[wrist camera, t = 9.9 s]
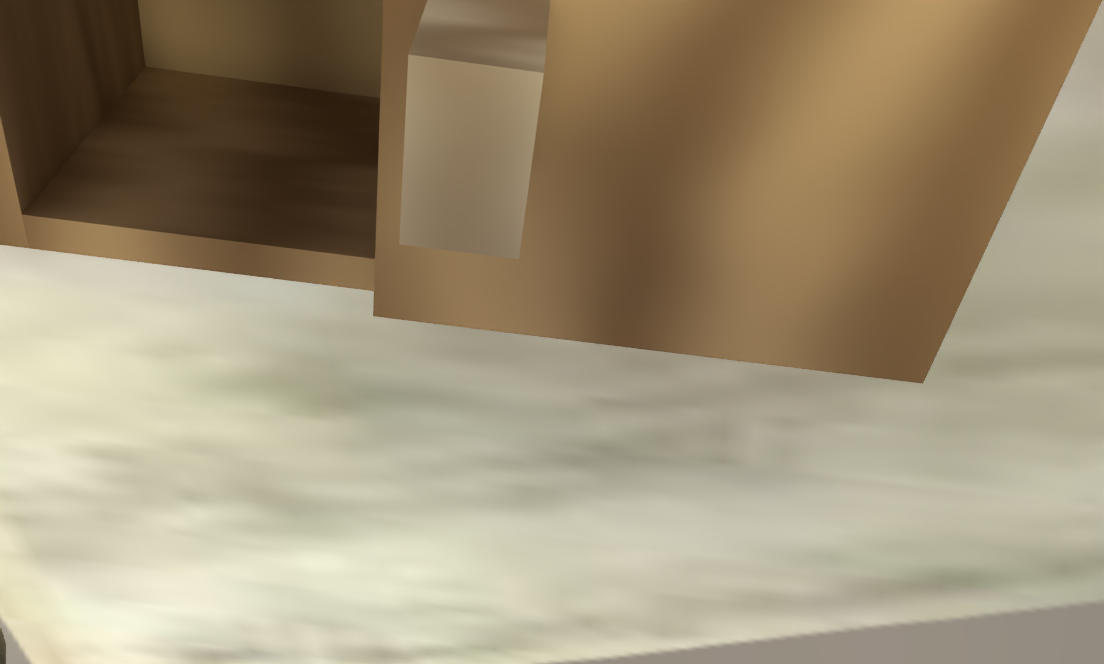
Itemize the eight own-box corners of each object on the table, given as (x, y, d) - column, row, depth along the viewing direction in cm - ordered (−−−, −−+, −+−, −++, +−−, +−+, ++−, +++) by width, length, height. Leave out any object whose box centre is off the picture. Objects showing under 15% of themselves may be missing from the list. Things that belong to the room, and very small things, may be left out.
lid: (1163, -176, 19) (1284, -114, 16) (916, 366, 28) (962, 483, 24) (398, -295, 19) (354, -258, 15) (377, 300, 27) (346, 411, 23)
